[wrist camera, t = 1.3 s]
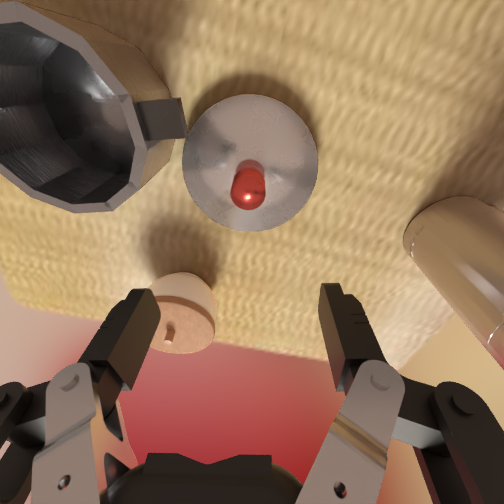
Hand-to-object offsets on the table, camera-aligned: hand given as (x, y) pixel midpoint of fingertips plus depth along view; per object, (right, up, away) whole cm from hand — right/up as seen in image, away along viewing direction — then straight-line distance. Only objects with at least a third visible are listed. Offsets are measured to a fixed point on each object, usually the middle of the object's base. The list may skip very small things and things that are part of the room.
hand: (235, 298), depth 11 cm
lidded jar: (-9, -3, +25) cm, 27 cm away
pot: (-13, +15, +12) cm, 23 cm away
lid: (+1, +11, +14) cm, 18 cm away
